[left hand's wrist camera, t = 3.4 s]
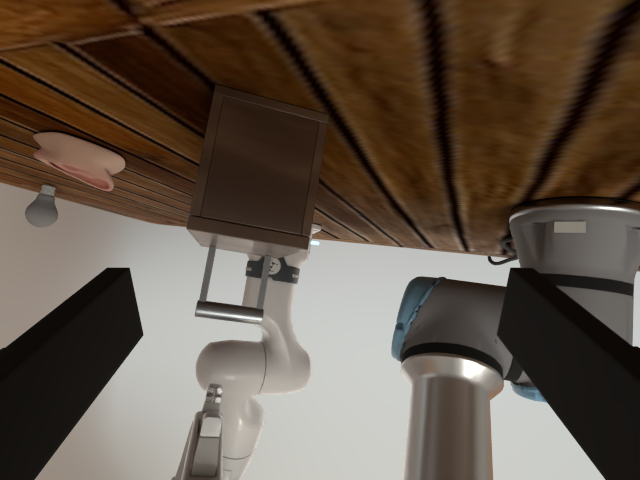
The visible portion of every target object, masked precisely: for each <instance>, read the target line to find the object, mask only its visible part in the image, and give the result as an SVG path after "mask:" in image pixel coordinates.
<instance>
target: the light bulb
mask: <svg viewBox="0 0 640 480" xmlns="http://www.w3.org/2000/svg"><path fill="white" fill-rule="evenodd" d="M41 188H42V191H40V194H38V196H37V198H36V199H35V201H33V202H32V203H31V204H30V205H29V206H28V207H27V209H26V211H25V216H26V219H27V220H28V222H29V223H30V224H32V225H34V226H36V227H48V226H50V225H52V224H53V223H55V221H56V220H57V218H58V212H57V209H56V206H55V203H54V201H55V198H54V192H55V191H54V190H56V188H54V187H53V186H52V185H48V184H46V185H42V187H41Z"/></svg>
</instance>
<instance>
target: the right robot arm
mask: <svg viewBox="0 0 640 480" xmlns="http://www.w3.org/2000/svg"><path fill="white" fill-rule="evenodd" d="M321 227H322V226H320V225H316V224H312V227H311V234H310V237H309V238H310V240H309V246H308V250H306V251H303V252H299V253H296V254H292V255H289V256H285V257H282V258H278V259H276V258H271V264H270V269H269V275H268V281H267V287H266V293H265V299H264V305H263V309H264V316H263V321H262V324H261V325H259V324H255V325H256V326H257V327H259V328H260V329H261V332H262V339H261V342H253V341H239V340H226V341H218V342H212V343H209V344H208V345H207V346H206V347H205V348H204V349H203V350H202V351H201V353H200V355H199V357H198V359H197V362H196V377H197V380H198V383H199V385H200V386H201V387H202V389H203V390H205V391H206V392H207V393H206V398H205V402H204V405H203V409H202V411H200V412H197V413H196V414H195V417H194V419H193V422H192V425H191V428H190V431H189V435H188V438H187V442H186V445H185V448H184V452H183V455H182V459H181V462H180V465H179V468H178V471H177V474H176V476H175V477H173V478H172V479H171V480H239V479H240V478H241V477H242V475H243V474H244V472H245V470H246V469H247V467H248V465H249V463H250V461H251V459H252V457H253V454H254V452H255V449H256V446H257V443H258V440H259V437H260V434H261V431H262V429H263V425H264V422H265V412H264V409H263V407H262V405H261V404H260V402H259V401H258V400H257V399H256V398H255V397H253V396H252V395H284V394H289V393H293V392H297V391H301V390H303V389H304V388H305V387H306V386H307V384H308V382H309V380H310V378H311V374H312V363H311V359H310V357H309V355H308V353H307V351H306V350H305V349H304V348H303V347H302V346H301V345H300V343H299V342H298V340H297V338H296V336H295V333H294V330H293V325H292V306H293V297H294V290H295V284H297V282H298V278H299V271H300V269H299V266H300V265H301V264H302V263H303V262H305V261H306V260H307V259H308V256H309V254H310V244H316V245H319V242H315V241H312V234H313V233H316V232H318V231H320V230H321ZM247 255H248V257H249V261H248V262H247V267H246V276H247V280H246V286H245V291H244V297H243V303H242V306H246V307H254V308H256V306H257V301H258V295H259V289H260V283H261V277H262V271H263V266H264V260H265V257H264V256H258V255H252V254H247ZM251 277H254V278H251ZM258 278H260V279H258ZM271 280H273V281H271ZM278 281H280V282H278ZM284 282H286V283H284ZM291 283H293V284H291Z"/></svg>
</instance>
